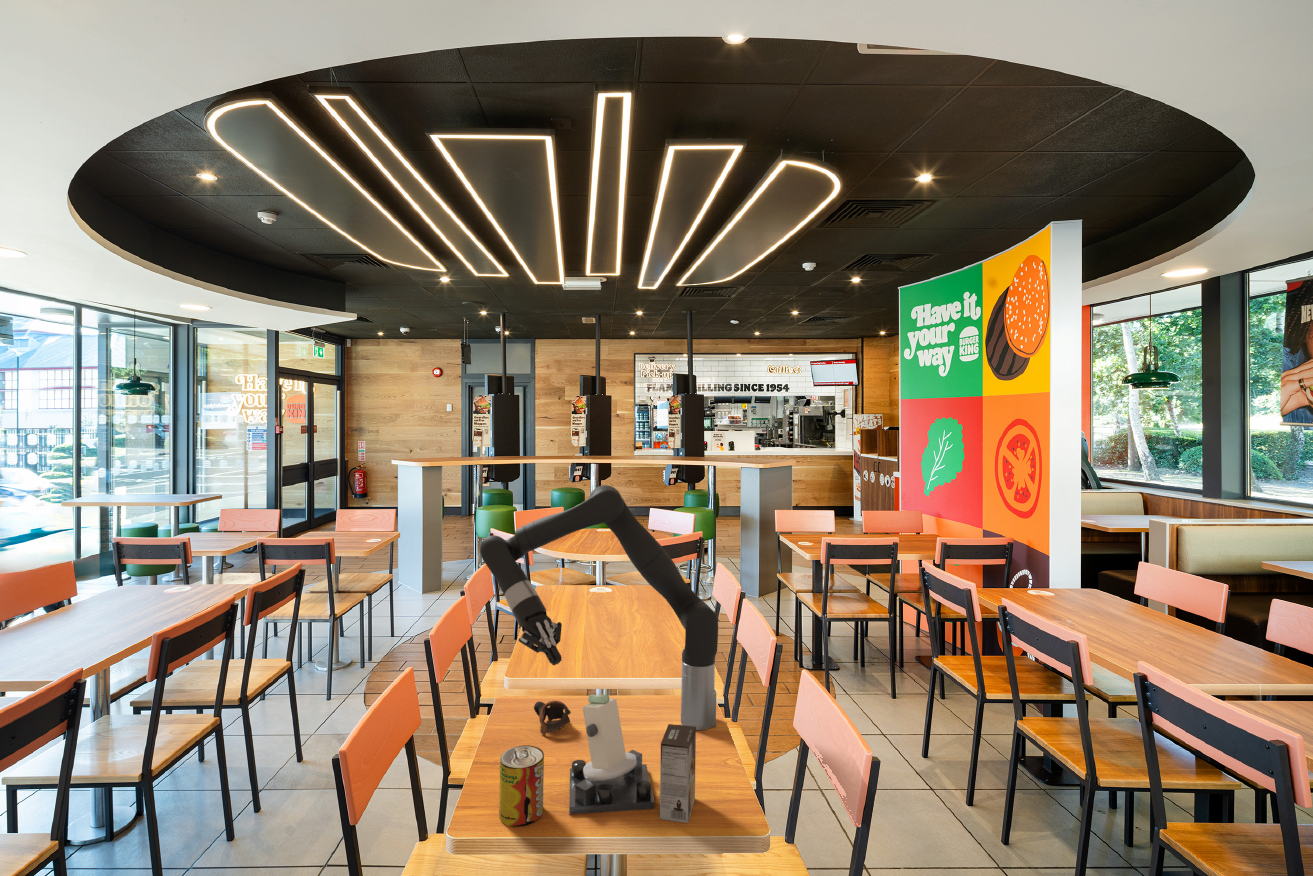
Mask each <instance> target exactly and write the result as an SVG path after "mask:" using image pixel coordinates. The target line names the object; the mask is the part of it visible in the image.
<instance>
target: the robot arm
mask: <svg viewBox="0 0 1313 876" xmlns="http://www.w3.org/2000/svg"><path fill="white" fill-rule="evenodd" d="M601 524H602V525H603V524H605V525H606V526H607V527H608V528H609V530H610V531H611V532H612V533H613V534H614V536H615V537H616V538H617V540H618V541H619V544H621V547H622V549H623V551H624V553H625V554H626V556H627V557H628V559H629V560H630V562H631V563H632V565H633V566H634V568H635V569H636V570H637V571H638V573H639V574H640V575H641V576H642V577H643V579H644V580H645V581H646V583H648V585H649V586H651V587H652V588H653V589H654V590H655V591H656V592H657V593H658V594H659V595H661V596H662V598H663V599H665V600H666V601H667V603H668V604H669V607H671V609H672V610H673V612H674V613H675V615H676V617H677V619H678V620H679V622H680V624H681V626H682V627H683V629H684V630H685V635H684V636H685V637H684V649H683V650H682V651H681V686H680V687H681V692H680V693H681V695H680V696H681V697H680V701H681V703H680V725H685V726H695V727H696V731H705V730H708V729H711V728H716V726H717V691H716V689H715V685H716V684H715V681H716V680H715V679H716V676H715V674H716V671H715V669H716V668H715V667H716V664H715V663H716V656H717V654H718V653H717V652H718V646H719V645H718V643H719V641H718V640H719V621H718V617H717V614H716V612H715V611H714V610H713V609H712V608H711V607H710V606H709V605H708V604H707V603H706V602H705V601H704V600H702V599H701V598H700V597H699V596H698V595H697V594H696V593H695V592H694V591H693V590H692V588H691V587H689V585H688V584H687V582H686V581H685V580H684V578H683V576H682V575H681V572H680V570H679V568H678V567H677V565H676V564H675V562H674V561H673V559H672V558H671V557H670V555H669V554H668V553H667V552H666V550H665V549H664V548H663V546H662V545H661V544H660V543H659V542H658V540H657V539H656V538H655V537H654V536H653V535H652V534H651V533H650V532H649V530H647V528H645V527H644V526H643V525H642V524H641V523H640V521H638V520H637V518H636V517H635V516H634V515H633V513H632V511H631V510H630V508H629V507H628V505H627V503H626V502H625V501H624V498H623V497H622V495H621V493H620V491H619V490H617V488H615V487H614V486H611V485H607V484H606V485H605V484H604V485H600V486H599V485H598V486H597V487H595V488H594V489H593V490H592V491H591V493H590V495H589V497H588V498H587V499H586V500H584V501H582V502H581V503H579V504H577V505H575V506H573V507H570V508H569V509H566V510H564V511H561V512H557V513H554V514H550V515H547V516H543V517H541V518H538V519H536V520H533V521H532V522H529V523H527V524H525V525H522V526H520V527H518V528H517V529H516V530H515V531H514V535H513V536H511V537H510V538H507V539H504V538H503V537H501V536H498V535H493V534H492V535H489V536H486V537H485V538H484V539H483V540H482V541H481V543H480V547H479V553H480V556H481V558H482V560H483V562H484V563H485V565H486V566H487V568H488V570H489V571H490V573H491V574H492V575H493V577H494V578H495V580H496V581H497V583H498V586H499V589H500V590H501V592H502V594H503V595H504V597H505V601H506V603H507V605H508V607H509V609H510V610H511V613H512V615H513V617H514V618H515V620H516V622H517V624H518V626H519V627H521V630H522V634H521V635H520V637H519V638H518V642H519V643H521V644H522V645H523V646H526V647H527V648H528V649H530V650H532V651H533V652H534V653H543V654H545V656H546V658H547V659H548V660H547V661H548V662H549V663H550V664H551V665H552V666H556V665H559V664H560V663H561V662H562V655H561V653H560V651H559V649H558V647H557V645H558V644H559V643H560V642H561V637H562V626H563V625H562V622H561V621H558V622H554V621H552V619H551V617H550V616H549V615H548V614H547V608H546V606H545V604H544V603H543V601H542V599H541V597H540V596H539V594H538V592H537V591H536V589H535V587H534V586H533V584H532V583H531V581H530V580H529V578H528V576H527V575H526V573H525V571H524V570H523V568H522V567H521V565H519V563H517V561H518V560H520V559H521V558H523V557H524V556H525V555H527V554H528V553H529V552H532V551H535V550H537V549H539V548H541V547H544V546H546V545H548V544H550V543H552V542H554V541H555V542H556V540H559V539H561V538H563V537H565V536H567V535H569V534H572V533H575V532H578V531H580V530H583V529H587V528H590V527H593V526H597V525H601Z"/></svg>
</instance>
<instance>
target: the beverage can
mask: <svg viewBox="0 0 1313 876" xmlns="http://www.w3.org/2000/svg"><path fill="white" fill-rule="evenodd" d="M544 766H545V754H544V751H543V750H542V749H541V748H539V747H538V746H534V745H530V744H528V745H524V744H523V745H516V746H513V747H511V748H508V749H506V750H505V751H503V753H501V754H500V757H499V801H498V802H499V805H498V812H499V813H498V818H499V821H500V822H501V823H502V824H503V825H505V826H508V827H512V828H521V827H522V828H523V827H528V826H530V825H532V824H535V823H536V822H538V821H539V820H540V819H541V818H542V816H543V813H544V781H545V780H544V778H545V777H544V776H545V775H544V774H545V773H544V772H545V771H544V770H545V769H544V768H545V767H544Z"/></svg>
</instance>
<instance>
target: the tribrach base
mask: <svg viewBox="0 0 1313 876" xmlns="http://www.w3.org/2000/svg"><path fill="white" fill-rule="evenodd" d="M628 753H632V754H634V755H635V756H636V761H637V765H636V766H635V768H633V769H632V770H631V771H629V772H628V773H626V774H624V775H621V776H619V777H616V778H612V779H608V780H601V781H597V782H595V783H592V782H590V781H589V780H588V779H586V778H585V777H584V773H583V768H584V766H585V765H586V764H587V761H585V760H583V759H576V760H573V761H572V762H571V768H569V798H568V799H569V800H568V801H569V802H568V803H569V807H568V808H569V809H568V813H569V814H568V815H579V814H580V815H581V814H582V815H583V814H594V813H595V814H598V813H611V812H624V811H625V812H627V811H642V810H643V811H644V810H655V799H654V794H653V789H652V782H651V780H650V776H649V771H648V767H647V764H645V763H644V764H643V753H642V752H639V751H636V750H634V749H631V750H629V751H628Z"/></svg>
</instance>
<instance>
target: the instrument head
mask: <svg viewBox="0 0 1313 876" xmlns="http://www.w3.org/2000/svg"><path fill="white" fill-rule="evenodd" d="M587 701H588V702H589V703H588V704H586V705H585V706H582V712H583V719H584V725H585V730H586V736H587V737H586V738H587V743H588V750H589V755H590V761H589V762H586V765H585V766H584V768H583V773H584V777H585V778H586V779H588V780H589V781H590V782H592V783H595V782H597V781H601V780H608V779H612V778H616V777H619V776H621V775H624V774H626V773H628V772H629V771H631V770H632V769H633V768H635V766H636V765H637V761H636V756H635V755H634V754H632V753H628V752H629V751H628V752H627V751H626V748H625V743H624V736H623V730H622V725H621V719H620V713H619V706H618V703H617V702H618V701H617V698H610V695H609V694H600V693H597V694H589V695H588V699H587Z"/></svg>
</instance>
